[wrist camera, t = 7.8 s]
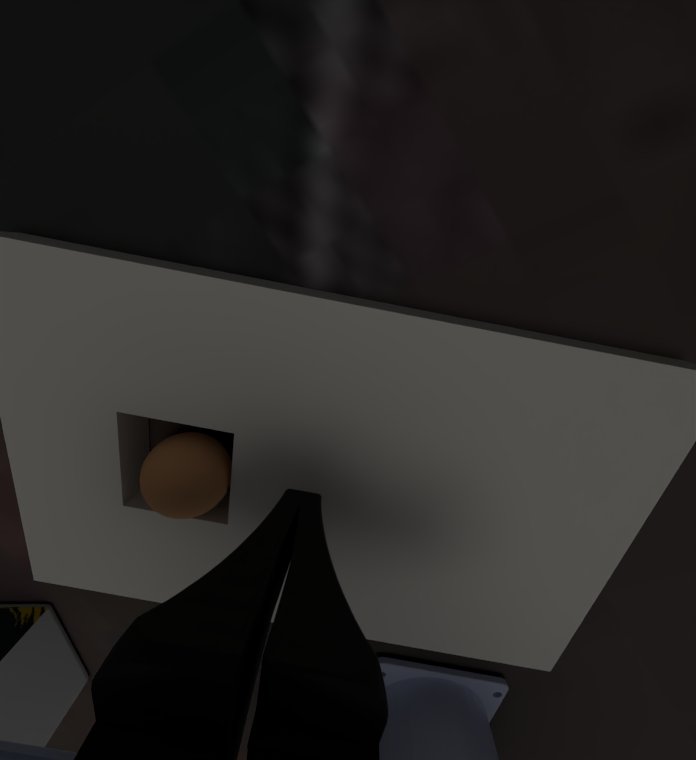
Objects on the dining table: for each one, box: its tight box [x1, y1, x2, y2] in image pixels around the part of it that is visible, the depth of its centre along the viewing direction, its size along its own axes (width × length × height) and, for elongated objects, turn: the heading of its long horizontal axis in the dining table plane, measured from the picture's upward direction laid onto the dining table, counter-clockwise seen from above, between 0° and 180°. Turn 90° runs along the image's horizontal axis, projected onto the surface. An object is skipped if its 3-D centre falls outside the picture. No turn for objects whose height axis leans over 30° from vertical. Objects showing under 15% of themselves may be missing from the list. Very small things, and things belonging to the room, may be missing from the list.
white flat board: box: [0, 232, 696, 671], centre depth 15 cm, size 26×16×2 cm, turn 80°
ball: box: [140, 432, 232, 519], centre depth 14 cm, size 4×4×4 cm
